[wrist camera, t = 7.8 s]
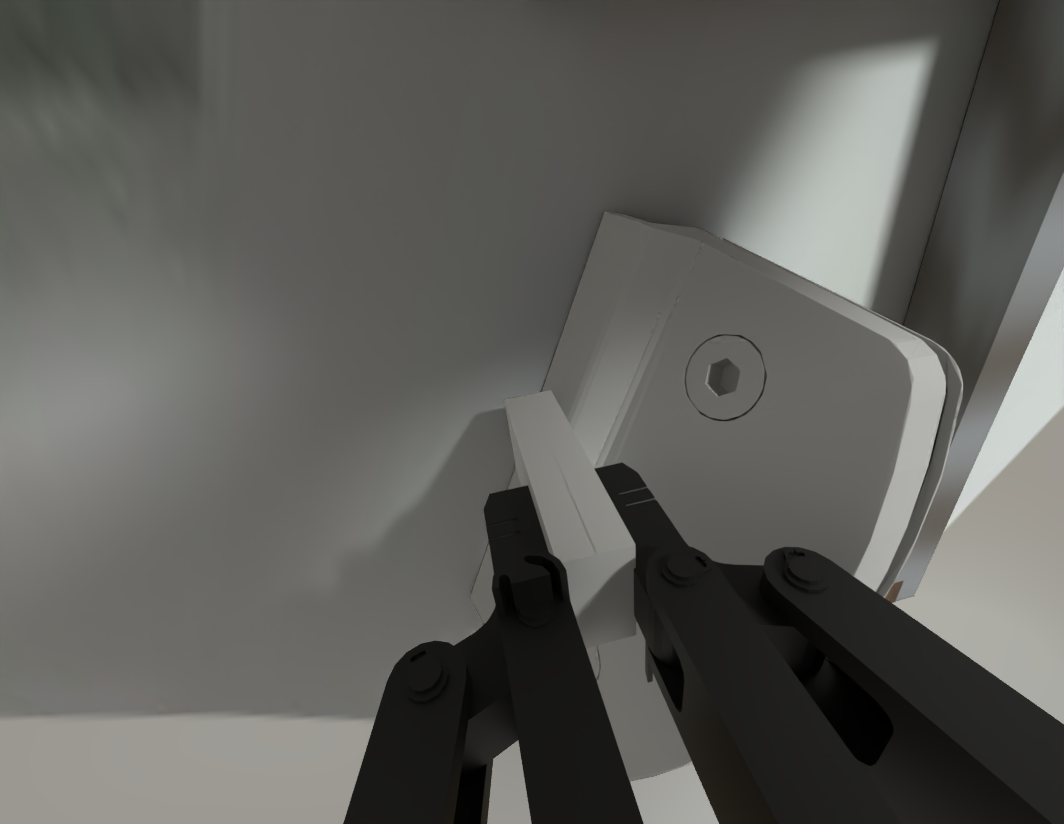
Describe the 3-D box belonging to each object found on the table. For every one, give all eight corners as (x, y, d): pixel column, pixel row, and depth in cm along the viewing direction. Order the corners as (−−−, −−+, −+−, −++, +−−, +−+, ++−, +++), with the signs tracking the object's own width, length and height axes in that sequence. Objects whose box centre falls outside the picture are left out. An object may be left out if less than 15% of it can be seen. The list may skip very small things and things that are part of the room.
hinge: (609, 196, 13) (1108, 327, 6) (706, 235, 15) (1121, 356, 8) (467, 603, 19) (612, 893, 12) (552, 580, 22) (710, 806, 15)
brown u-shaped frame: (500, -113, 9) (528, -222, 7) (1100, -169, 11) (1308, -272, 8) (587, 624, 22) (608, 685, 19) (860, 548, 23) (914, 596, 21)
